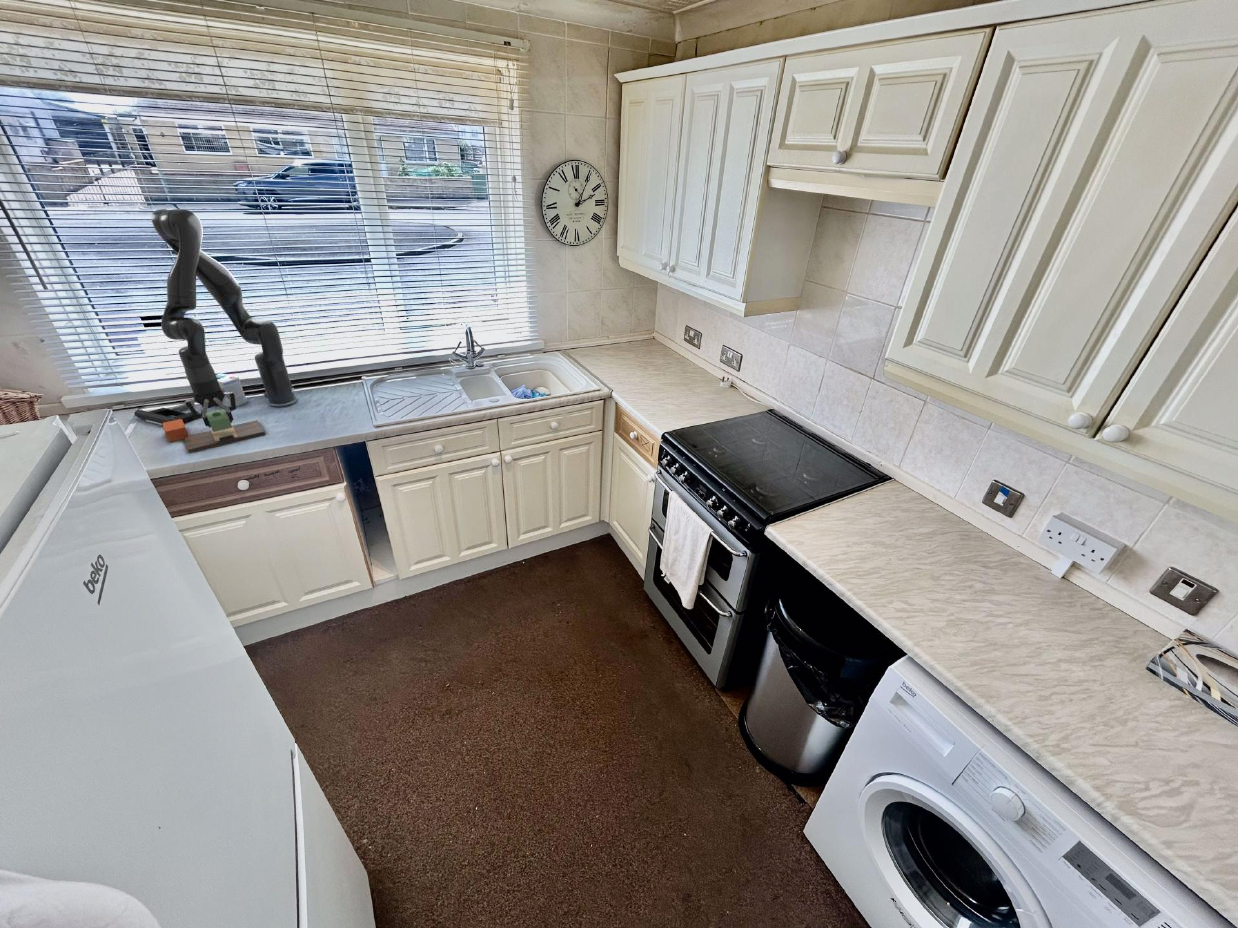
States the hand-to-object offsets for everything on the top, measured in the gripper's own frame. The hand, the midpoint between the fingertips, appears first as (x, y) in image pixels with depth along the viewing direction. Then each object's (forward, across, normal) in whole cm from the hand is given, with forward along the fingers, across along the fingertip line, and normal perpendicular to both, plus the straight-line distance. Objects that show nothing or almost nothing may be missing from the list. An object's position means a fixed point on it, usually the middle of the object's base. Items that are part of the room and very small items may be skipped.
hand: (220, 424), depth 180 cm
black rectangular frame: (+5, +12, -31) cm, 34 cm away
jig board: (+5, 0, 0) cm, 5 cm away
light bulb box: (+5, -7, -33) cm, 34 cm away
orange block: (+5, +12, -12) cm, 18 cm away
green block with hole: (+1, 0, 0) cm, 1 cm away
